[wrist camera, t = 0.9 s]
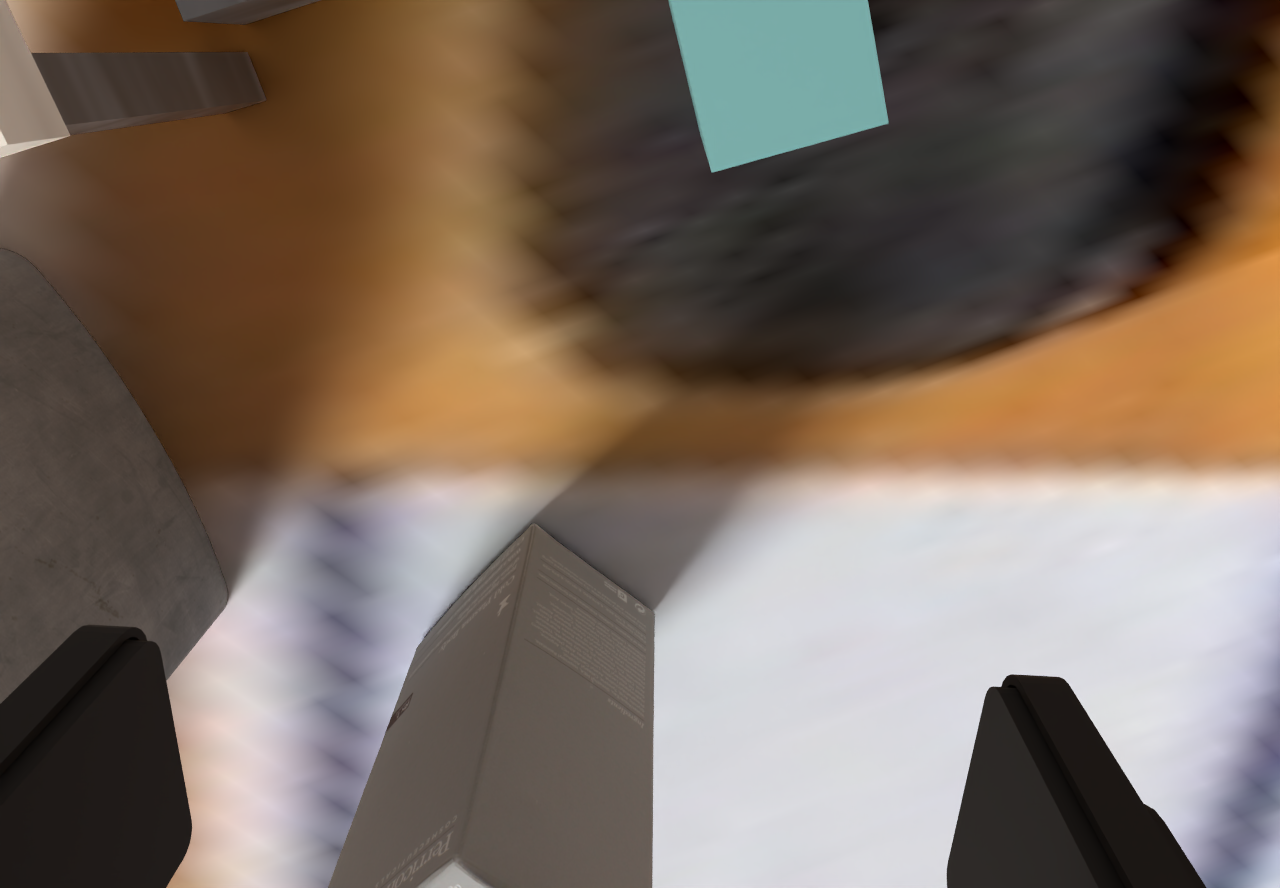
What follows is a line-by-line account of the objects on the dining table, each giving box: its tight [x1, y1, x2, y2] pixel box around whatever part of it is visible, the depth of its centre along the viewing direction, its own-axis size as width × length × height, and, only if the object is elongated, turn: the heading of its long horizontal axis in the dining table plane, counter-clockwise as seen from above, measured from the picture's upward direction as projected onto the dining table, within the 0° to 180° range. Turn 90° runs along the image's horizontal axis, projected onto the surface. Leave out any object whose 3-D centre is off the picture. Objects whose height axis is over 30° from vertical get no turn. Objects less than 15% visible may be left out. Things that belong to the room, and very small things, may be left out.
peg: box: [669, 0, 888, 172], centre depth 25 cm, size 4×4×10 cm
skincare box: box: [328, 524, 655, 888], centre depth 31 cm, size 8×7×16 cm
